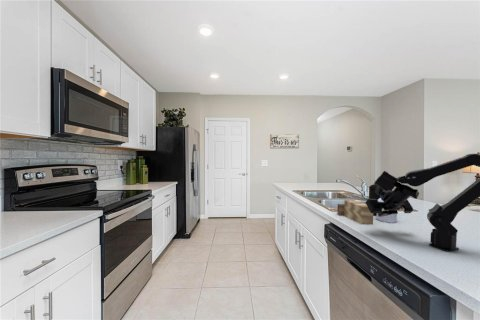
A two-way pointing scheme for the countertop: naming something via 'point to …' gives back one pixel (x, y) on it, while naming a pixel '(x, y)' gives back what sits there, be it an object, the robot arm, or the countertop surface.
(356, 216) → the bar
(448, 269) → the countertop surface
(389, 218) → the soap bottle
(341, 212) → the stop block
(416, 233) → the countertop surface
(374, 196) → the aerosol can
